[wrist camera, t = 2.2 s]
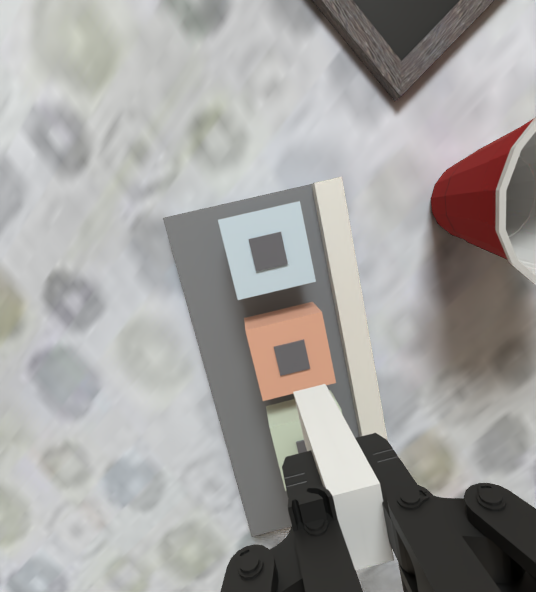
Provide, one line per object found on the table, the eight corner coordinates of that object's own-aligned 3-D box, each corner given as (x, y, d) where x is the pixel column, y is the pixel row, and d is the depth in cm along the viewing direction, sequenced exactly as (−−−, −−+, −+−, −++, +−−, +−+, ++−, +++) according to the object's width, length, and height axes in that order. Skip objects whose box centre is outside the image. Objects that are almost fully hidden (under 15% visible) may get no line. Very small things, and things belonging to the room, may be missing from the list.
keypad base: (385, 483, 36) (399, 507, 33) (251, 519, 35) (252, 546, 32) (331, 180, 30) (341, 176, 27) (167, 218, 29) (160, 218, 26)
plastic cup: (420, 287, 32) (527, 327, 20) (383, 161, 30) (479, 124, 18) (539, 240, 32) (713, 252, 21) (511, 110, 30) (690, 41, 18)
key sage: (342, 447, 30) (354, 474, 27) (280, 463, 30) (285, 492, 26) (330, 390, 29) (342, 410, 26) (265, 406, 28) (269, 428, 25)
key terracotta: (325, 365, 28) (336, 383, 25) (259, 381, 28) (263, 402, 25) (312, 301, 27) (322, 312, 24) (244, 318, 27) (245, 330, 24)
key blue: (306, 274, 27) (316, 281, 24) (237, 291, 27) (237, 300, 23) (292, 202, 26) (300, 200, 23) (219, 219, 25) (217, 219, 22)
